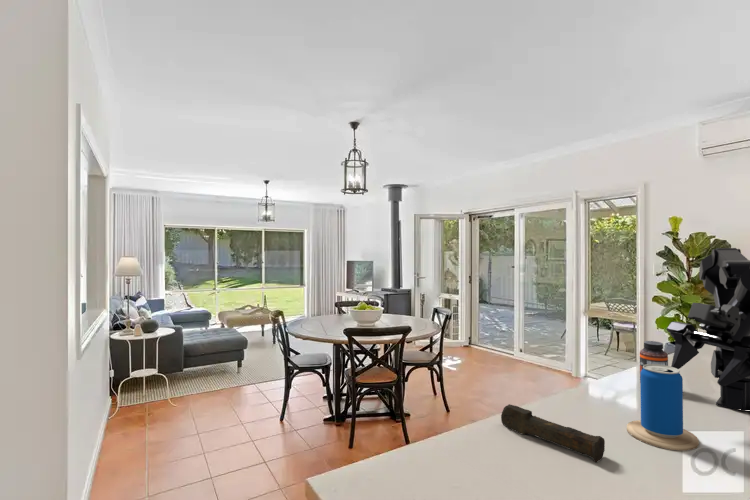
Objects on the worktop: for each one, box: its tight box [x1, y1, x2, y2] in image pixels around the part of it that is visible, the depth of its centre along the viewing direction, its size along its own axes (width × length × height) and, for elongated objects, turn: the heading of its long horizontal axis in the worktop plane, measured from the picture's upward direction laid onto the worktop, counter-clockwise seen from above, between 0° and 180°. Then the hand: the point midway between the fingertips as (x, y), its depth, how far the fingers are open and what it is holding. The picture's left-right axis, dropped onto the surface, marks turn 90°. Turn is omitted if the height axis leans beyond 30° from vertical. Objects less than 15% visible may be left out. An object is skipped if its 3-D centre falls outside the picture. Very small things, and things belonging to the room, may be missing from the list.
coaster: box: [626, 419, 700, 452], centre depth 75 cm, size 11×11×1 cm
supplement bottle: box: [639, 340, 669, 373], centre depth 102 cm, size 6×6×11 cm
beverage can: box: [639, 364, 684, 438], centre depth 75 cm, size 6×6×12 cm
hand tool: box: [500, 403, 606, 464], centre depth 74 cm, size 19×4×5 cm, turn 38°
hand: (695, 376), depth 77 cm, fingers open, 9 cm apart
